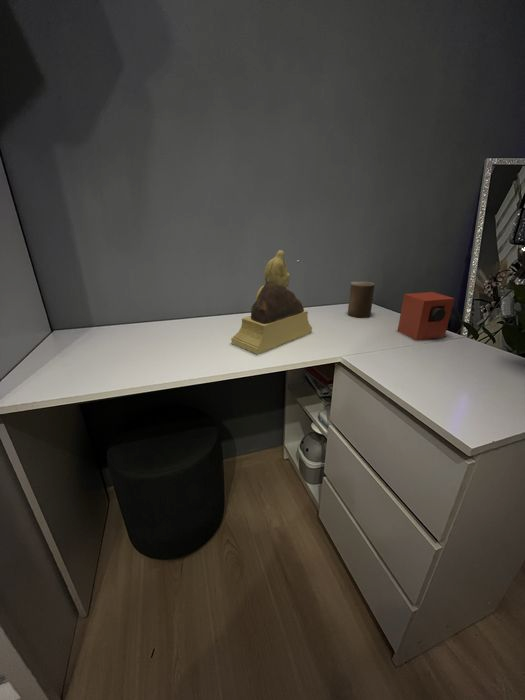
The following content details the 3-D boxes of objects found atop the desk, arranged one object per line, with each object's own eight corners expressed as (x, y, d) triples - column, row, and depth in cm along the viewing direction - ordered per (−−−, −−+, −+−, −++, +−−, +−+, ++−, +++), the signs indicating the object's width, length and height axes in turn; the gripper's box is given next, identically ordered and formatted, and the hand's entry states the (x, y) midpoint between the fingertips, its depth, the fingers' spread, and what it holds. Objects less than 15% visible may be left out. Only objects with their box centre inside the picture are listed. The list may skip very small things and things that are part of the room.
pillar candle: (367, 319, 125) (372, 283, 119) (344, 315, 130) (348, 281, 124) (372, 313, 133) (377, 279, 127) (351, 310, 138) (354, 277, 131)
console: (444, 336, 106) (454, 298, 101) (415, 340, 104) (424, 300, 98) (424, 327, 115) (432, 291, 109) (397, 330, 112) (404, 294, 107)
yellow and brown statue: (286, 324, 120) (288, 246, 108) (311, 332, 112) (316, 248, 100) (231, 343, 103) (226, 252, 90) (257, 354, 94) (255, 255, 82)
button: (443, 321, 101) (446, 308, 99) (432, 322, 100) (435, 309, 98) (439, 319, 103) (442, 307, 101) (428, 320, 102) (431, 308, 100)
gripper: (557, 226, 65) (507, 289, 78) (610, 220, 66) (551, 282, 80) (532, 210, 69) (488, 272, 83) (581, 204, 71) (531, 266, 84)
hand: (519, 277), depth 81 cm, fingers closed
